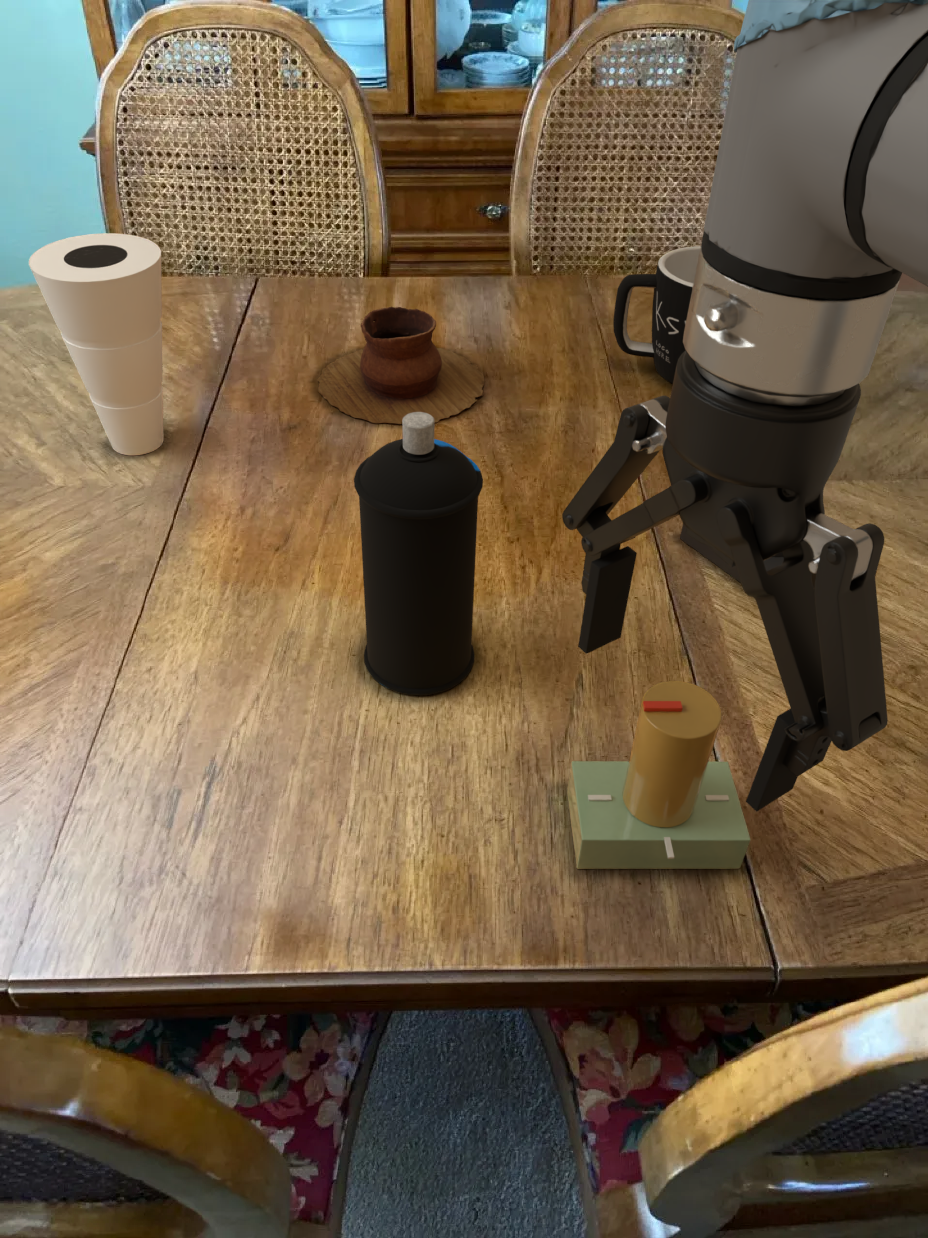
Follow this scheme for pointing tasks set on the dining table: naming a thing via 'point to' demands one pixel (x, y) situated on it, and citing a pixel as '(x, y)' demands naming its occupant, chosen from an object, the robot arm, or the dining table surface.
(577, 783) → the dial panel
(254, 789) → the dining table surface
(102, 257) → the cream tapered cylinder
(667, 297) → the mug
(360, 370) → the ceramic pot
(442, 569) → the aerosol can
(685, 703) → the dial
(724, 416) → the robot arm
